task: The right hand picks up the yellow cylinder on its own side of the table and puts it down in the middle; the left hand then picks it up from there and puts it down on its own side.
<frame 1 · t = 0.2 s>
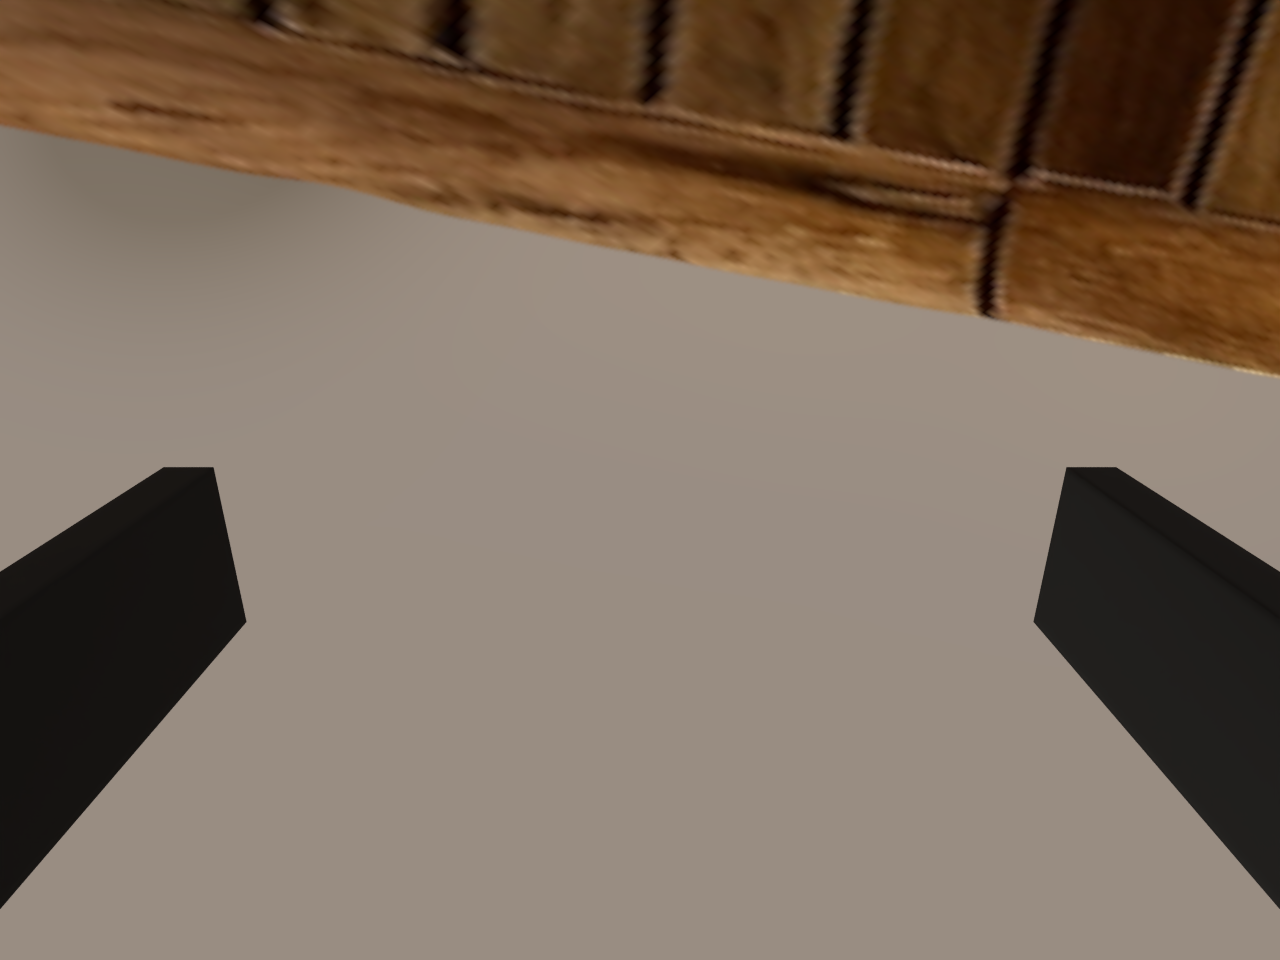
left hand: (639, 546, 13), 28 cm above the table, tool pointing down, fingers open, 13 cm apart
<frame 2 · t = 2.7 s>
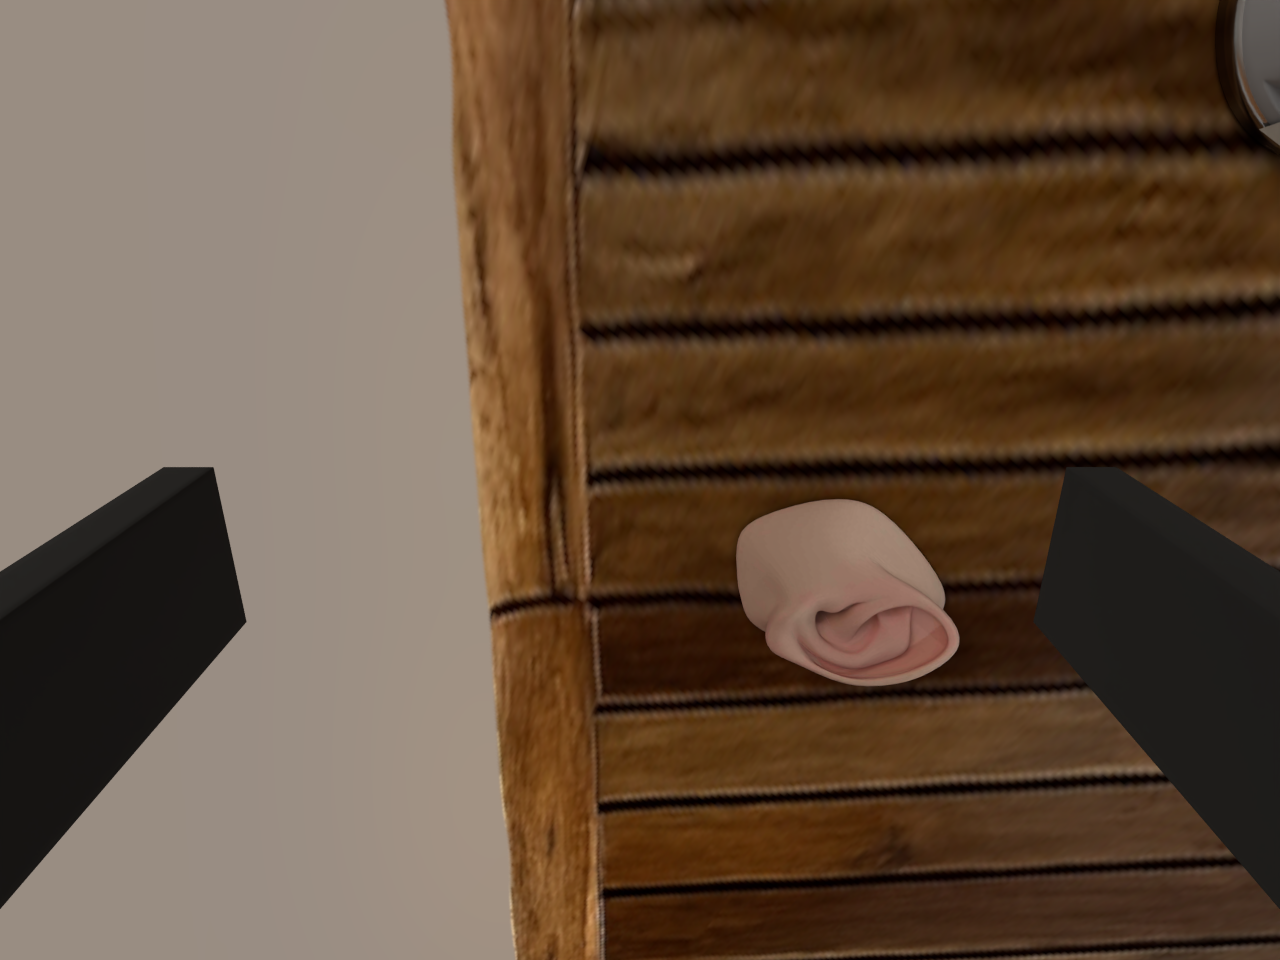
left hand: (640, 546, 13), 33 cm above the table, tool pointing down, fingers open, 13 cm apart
anatomical model: (833, 583, 50), on the table
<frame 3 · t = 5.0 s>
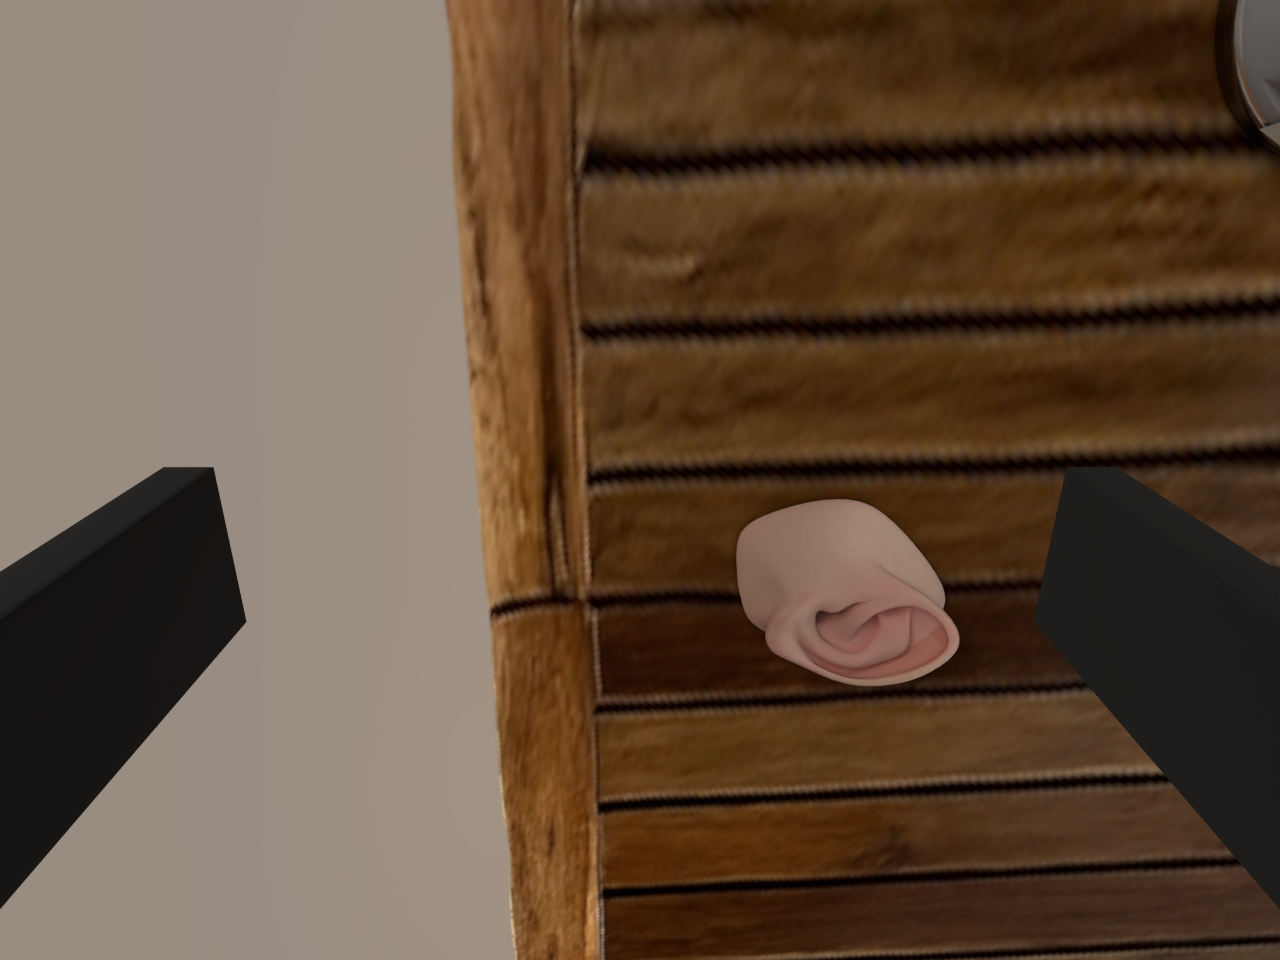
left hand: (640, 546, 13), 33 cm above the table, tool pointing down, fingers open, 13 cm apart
anatomical model: (833, 583, 50), on the table
when the right hand's fingers open (3 cm above the table, at t = 7.2 s): yellow cylinder drops 1 cm, on the table.
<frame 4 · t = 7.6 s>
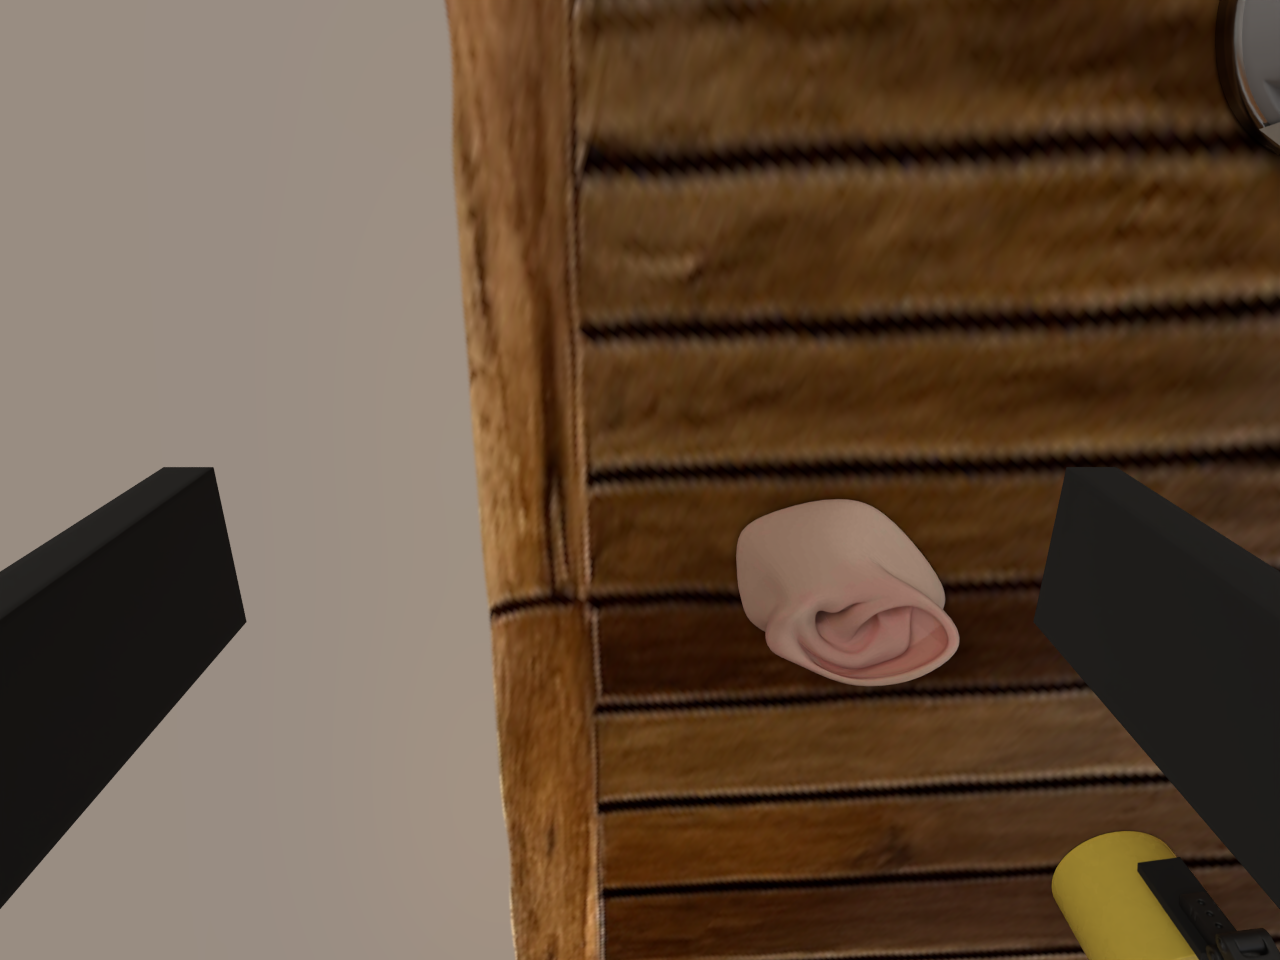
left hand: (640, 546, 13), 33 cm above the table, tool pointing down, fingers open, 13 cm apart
anatomical model: (833, 583, 50), on the table
yellow cylinder: (1113, 876, 60), on the table
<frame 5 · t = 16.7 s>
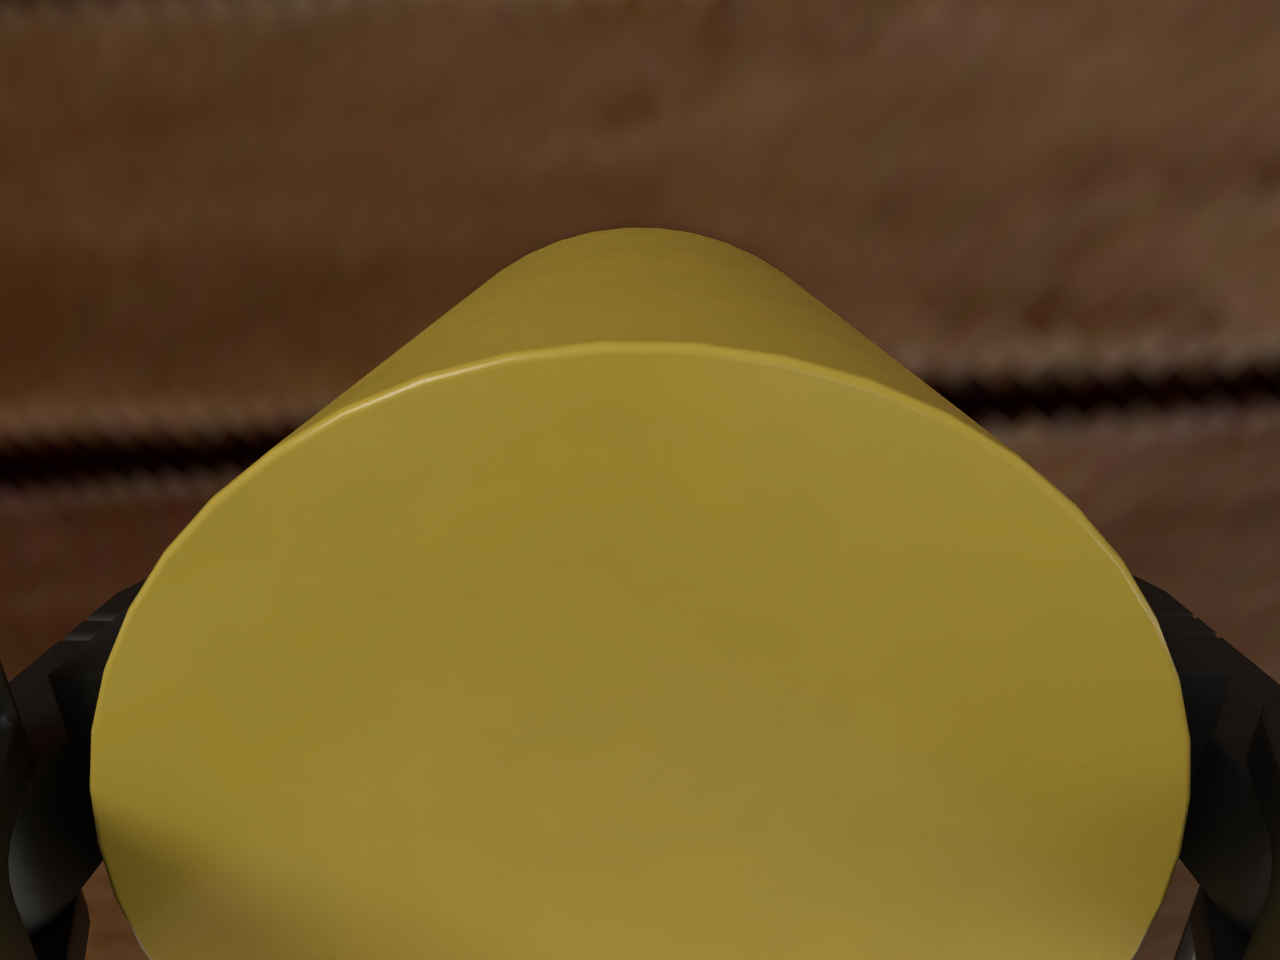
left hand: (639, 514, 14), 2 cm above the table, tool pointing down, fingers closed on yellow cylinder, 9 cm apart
yellow cylinder: (640, 468, 16), on the table, touching left hand
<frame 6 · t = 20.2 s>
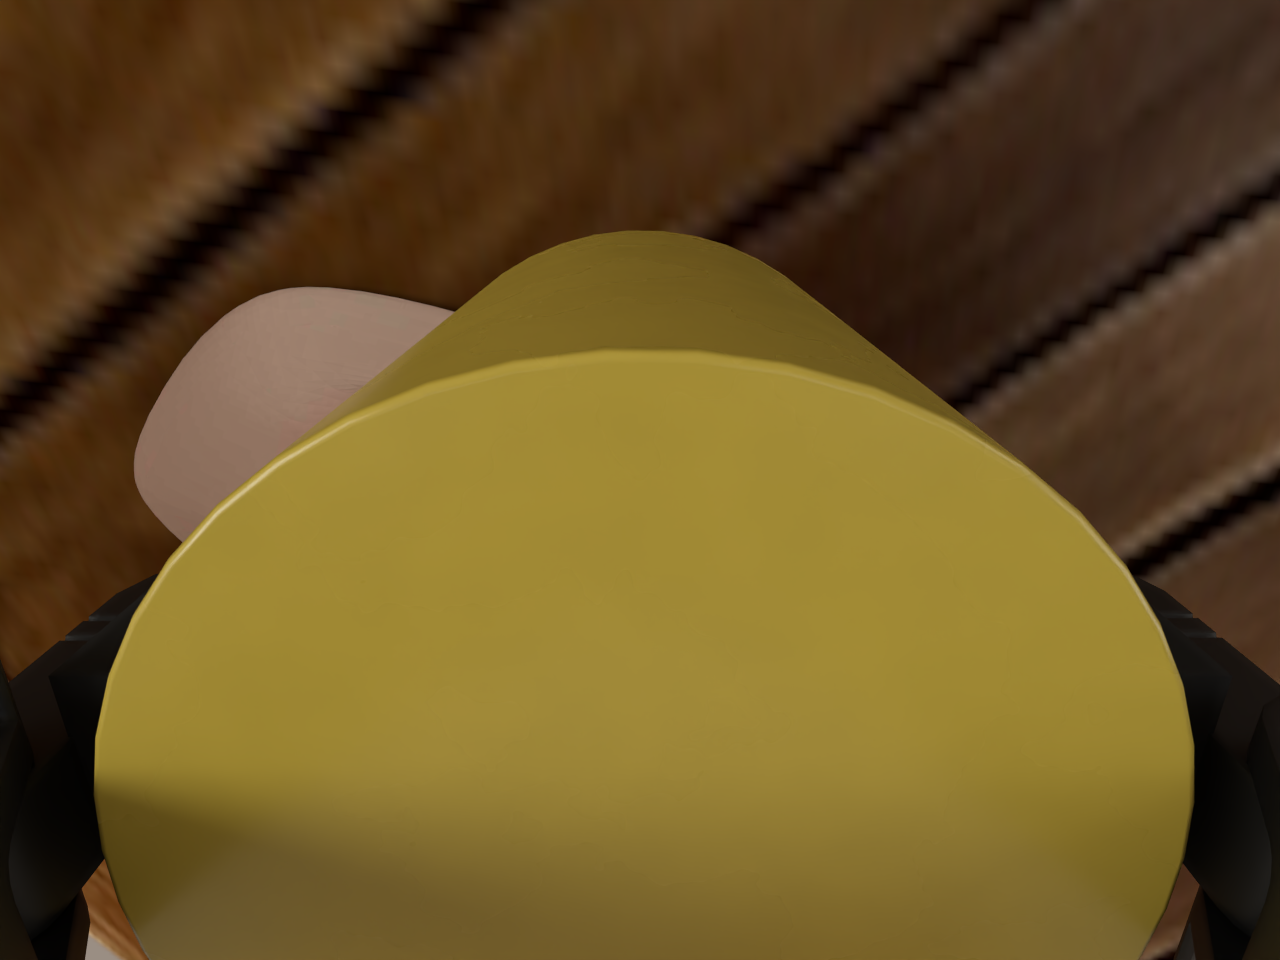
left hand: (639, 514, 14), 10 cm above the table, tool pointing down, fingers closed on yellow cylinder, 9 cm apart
anatomical model: (377, 471, 24), on the table
yellow cylinder: (641, 471, 16), point 8 cm above the table, touching left hand
when the left hand's fingers open (3 cm above the table, at t = 24.0 s): yellow cylinder drops 1 cm, on the table.
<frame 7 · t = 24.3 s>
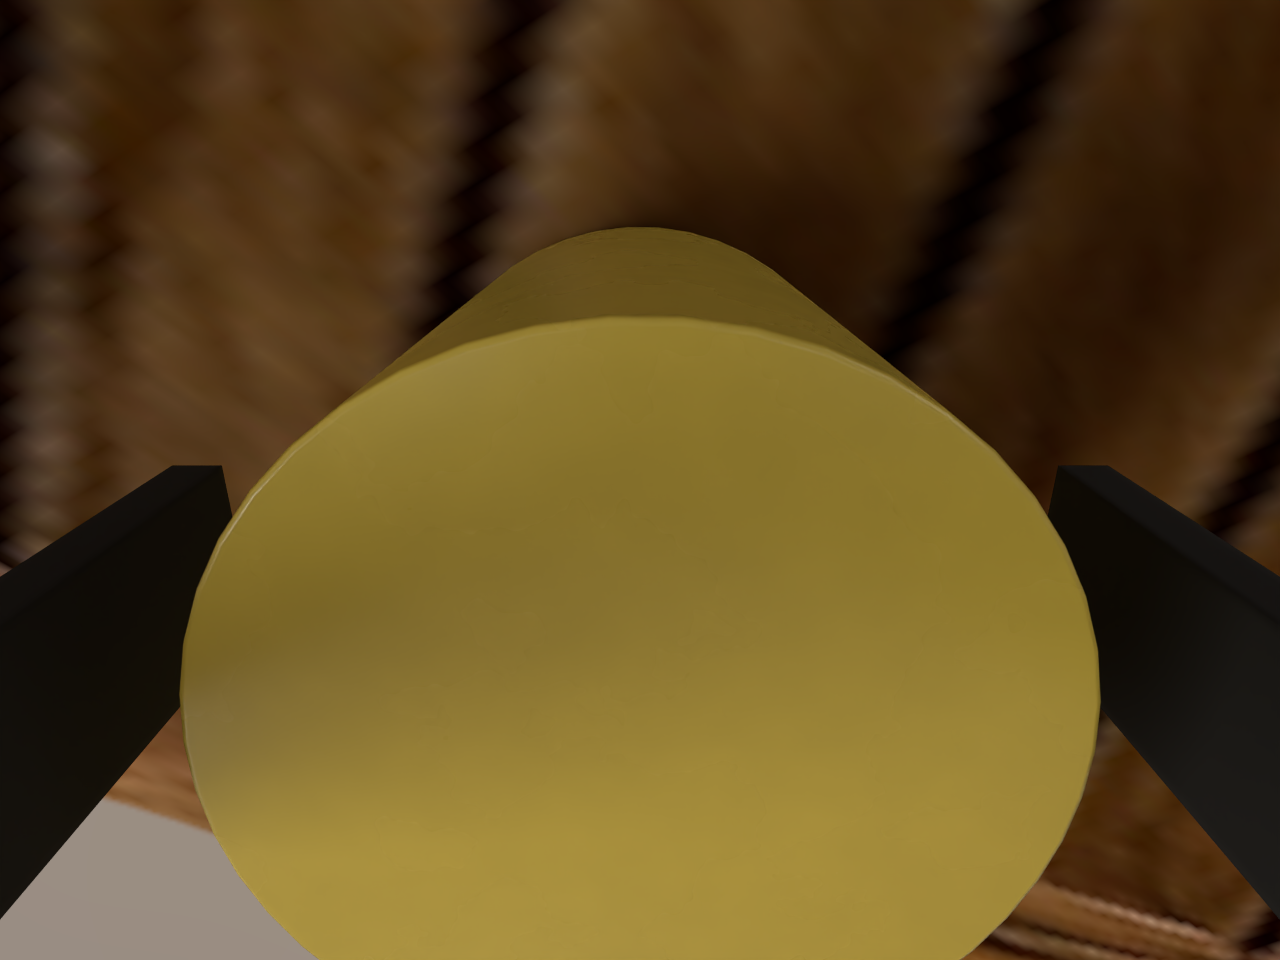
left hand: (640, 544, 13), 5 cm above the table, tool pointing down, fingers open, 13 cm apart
yellow cylinder: (639, 450, 17), on the table
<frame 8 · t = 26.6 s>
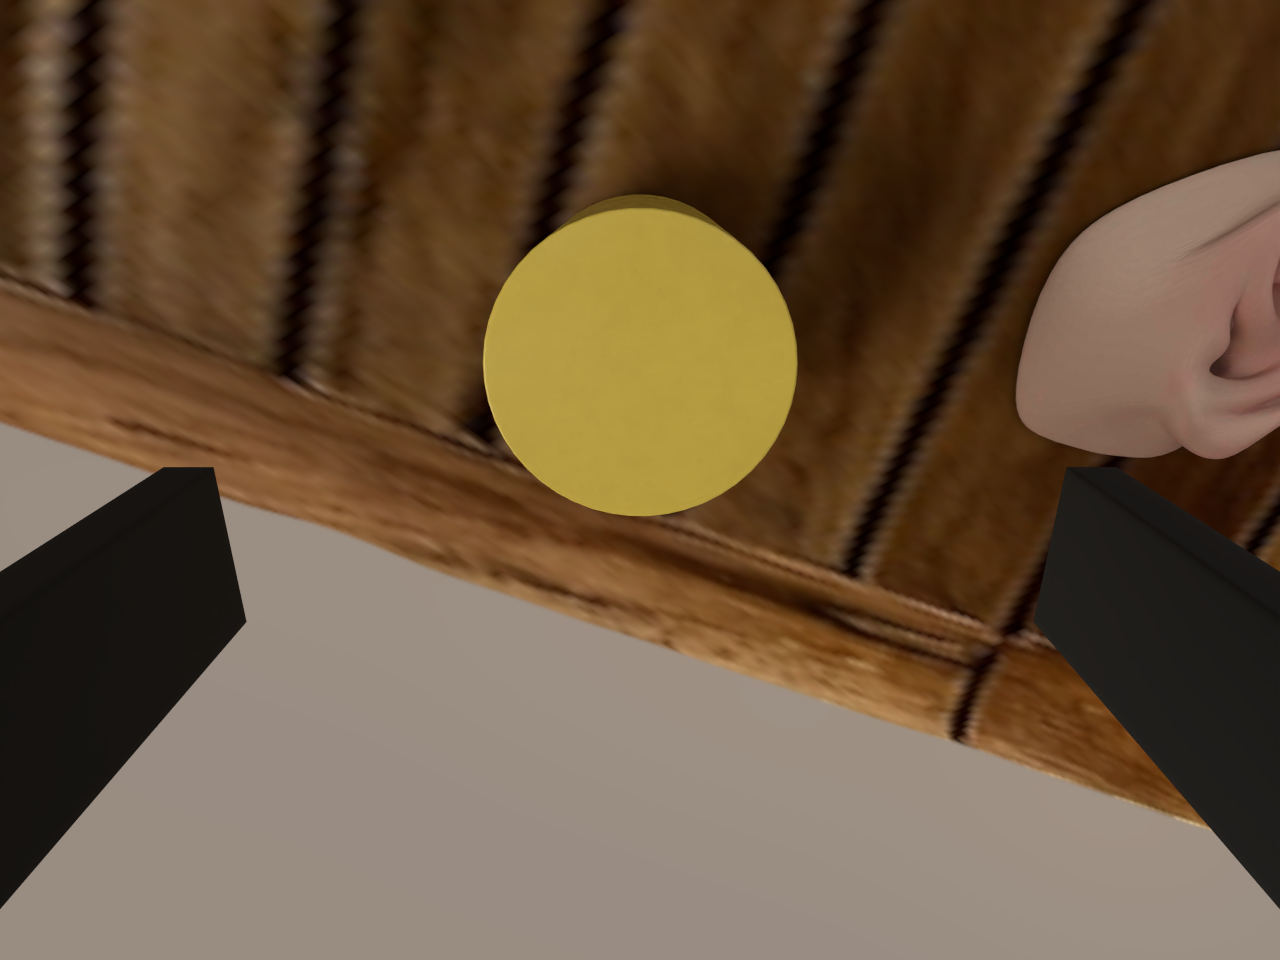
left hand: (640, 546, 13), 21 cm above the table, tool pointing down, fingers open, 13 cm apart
anatomical model: (1178, 317, 32), on the table
yellow cylinder: (640, 314, 32), on the table
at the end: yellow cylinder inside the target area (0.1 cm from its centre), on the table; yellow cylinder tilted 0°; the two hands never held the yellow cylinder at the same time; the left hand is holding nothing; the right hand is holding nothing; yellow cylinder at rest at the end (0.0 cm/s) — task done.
